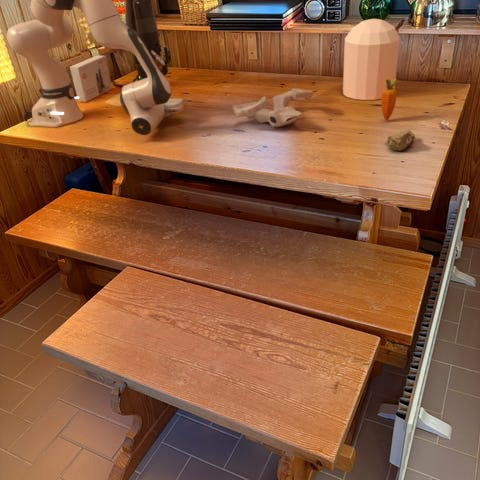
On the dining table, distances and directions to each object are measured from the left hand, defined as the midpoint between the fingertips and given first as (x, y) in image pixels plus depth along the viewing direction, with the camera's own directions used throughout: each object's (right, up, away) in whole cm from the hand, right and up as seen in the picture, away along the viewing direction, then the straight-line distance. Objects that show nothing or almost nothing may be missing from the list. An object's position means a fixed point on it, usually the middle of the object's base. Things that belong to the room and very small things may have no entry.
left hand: (163, 99), depth 188 cm
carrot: (+84, -14, -22) cm, 88 cm away
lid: (-1, +9, -8) cm, 12 cm away
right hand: (-2, +8, -7) cm, 10 cm away
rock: (+83, -27, -40) cm, 96 cm away
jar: (0, -6, +3) cm, 6 cm away
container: (+85, +5, +6) cm, 85 cm away
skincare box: (-38, +13, +35) cm, 53 cm away
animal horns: (+46, -14, -16) cm, 51 cm away
